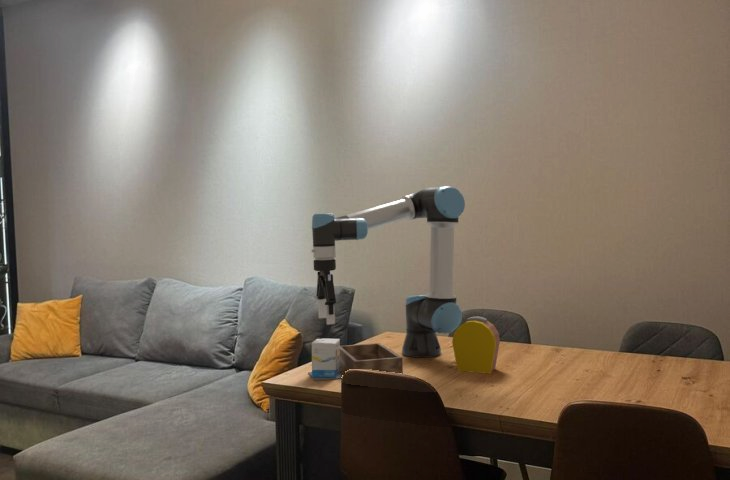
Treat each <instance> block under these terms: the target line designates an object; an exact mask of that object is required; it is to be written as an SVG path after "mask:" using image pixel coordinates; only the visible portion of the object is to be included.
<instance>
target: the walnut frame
mask: <svg viewBox="0 0 730 480" xmlns="http://www.w3.org/2000/svg"><path fill="white" fill-rule="evenodd" d="M403 362H404V359H403V357H402V356H401V355H399V354H398V353H396V352H395V351H392V350H391V349H390V348H388V347H387V346H385V345H383V344H382V343H381V342H377V343H362V344H360V343H359V344H349V345H340V370H342V371H343V372H344V373H345V371H347V370H349V369H372V370H379V371H386V372H395V373H402V374H403V375H404V369H403V368H404V365H403Z"/></svg>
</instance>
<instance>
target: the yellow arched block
mask: <svg viewBox="0 0 730 480" xmlns="http://www.w3.org/2000/svg"><path fill="white" fill-rule="evenodd" d="M452 336H453V337H452V341H451V342H452V347H453V353H454V359H455V365H456V369H457V370H460V371H459V372H465V371H473V372H472V373H477V372H485V373H484V374H488V373H490V374H491V373H492V372H493V371H495V369H496V366H497V359H498V354H499V350H500V349H499V348H500V342H501V340H500V334H499V331H498V330H497V328H496V327H495V325H494V324H493V323H492V322H490V321H488V319H487V318H486V317H482V316H478V315H477V316H471V317H468V318H466V321H465V322H464V323H463V324H462V323H461V324H460V325H459V326H458V327H457V328H456V330H454V333H453V335H452Z"/></svg>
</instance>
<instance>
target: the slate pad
mask: <svg viewBox="0 0 730 480" xmlns="http://www.w3.org/2000/svg"><path fill="white" fill-rule="evenodd" d="M307 373H308V375H309V376H310V378H311V379H312V380H313V381H314V382H321V381H331V380H332V381H333V380H342V379H341V377H342V375H343V374H344V373H343V372H342V371H341V370H340V373H339V374H338V375H337V377H312V371H310V372H307Z"/></svg>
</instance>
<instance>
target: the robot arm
mask: <svg viewBox="0 0 730 480" xmlns="http://www.w3.org/2000/svg"><path fill="white" fill-rule="evenodd" d="M465 207H466V204H465V197H464V195H463V194H462V193H461V192H460V190H459V189H458V188H456V187H455V186H454V187H453V186H448V185H443V186H442V185H441V186H436V187H435V186H433V187H426V188H424V189H423V188H422V189H420V190H418V191H415V192H413V193H412V192H411V193H409V194H406V195H403V196H402V197H401V199H399V200H396V201H392V202H388V203H385V204H380V205H377V206H373V207H370V208H366V209H362V210H360V211H356V212H352V213H349V214H346V215H342V216H341V215H340V216H338V217H335V215H334V213H331V212H329V213H327V212H326V213H315V214H313V215H312V219H311V222H312V223H311V230H312V231H311V232H312V249H311V253H312V254H313V255H312V256H313V259H314V260H313V270H314V271H315V272H317V280H316V282H317V283H316V296H315V297H316V298H317V307H318V308H317V311H318V312H317V314H318V319H326V325H327V326H328V325H335V324H336V314H335V313H336V312H335V311H336V310H335V309H336V308H335V304H336V303H337V300H336V294H335V293H336V291H335V285H334V275H333V274H332V273H331V272H332V271H335V270H336V269H337V264H336V263H337V261H336V259H335V258H336V242H337V241H358V240H365V238H367V236H368V233H369V230H373V229H376V228H379V227H382V226H385V225H389V224H393V223H396V222H398V221H403V220H408V221H412V220H415V219H426V223H427V224H428V226H429V227H430V245H429V246H430V251H429V252H430V253H429V254H430V255H429V256H430V257H429V288H428V289H429V290H428V292H427V293H426V294H421V295H418V294H417V295H410V296H409V295H408V296H407V297H406V299H405V328H406V329H405V330H406V333H405V338H404V340H403V343H402V344H403V345H402V347H401V349H402V350H401V353H402V355H403V356H406V357H411V358H432V357H437V356H440V355H441V354H442V351H441V350H442V348H441V345H440V342H439V339H438V336H437V333H438V334H445V335H446V334H451V333H453V332H455V331H456V330H457V328H458V327H459V326H461V324H462V323H461V322H462V320H463V319H462V318H463V313H462V309H461V308H460V306H459V305H458V304H457V295H455V293H454V291H453V289H454V287H453V286H454V284H453V283H454V281H453V280H454V245H455V244H454V243H455V227H456V226H457V225H458V224H459V217H461V216H462V213H464V211H465Z"/></svg>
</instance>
